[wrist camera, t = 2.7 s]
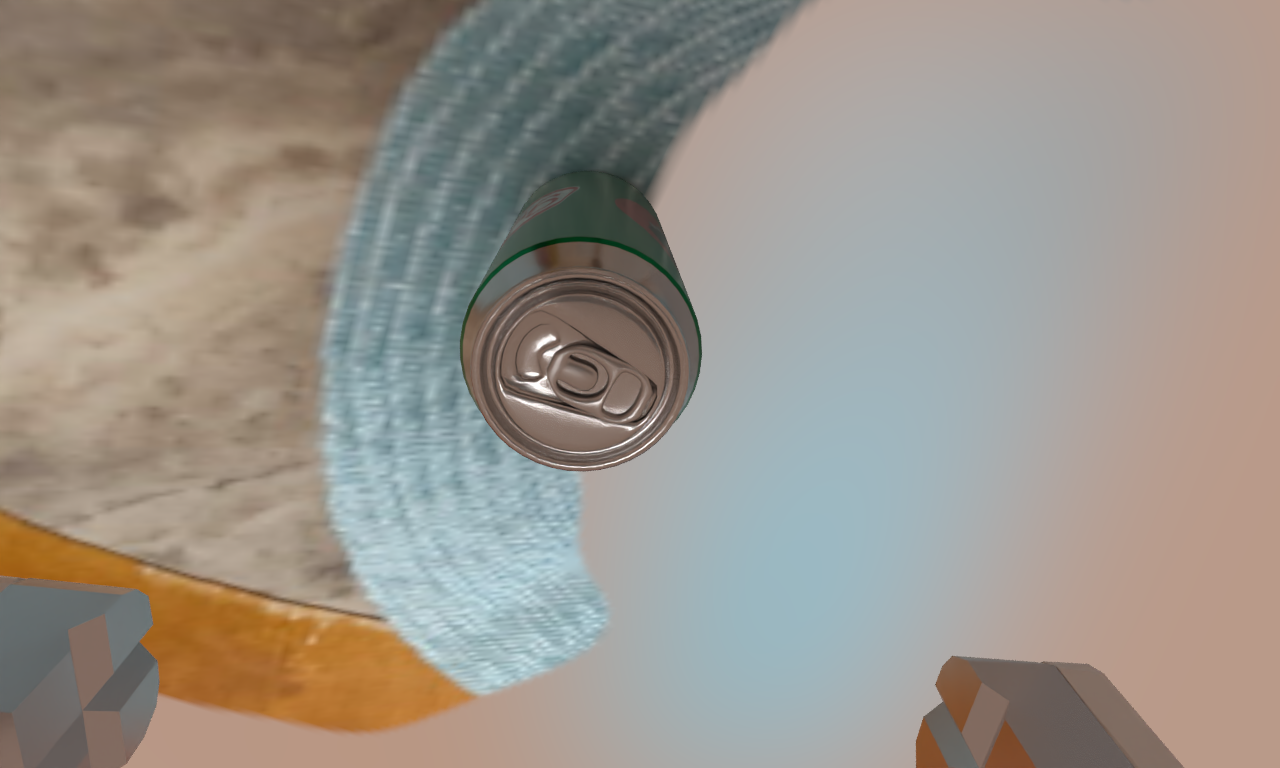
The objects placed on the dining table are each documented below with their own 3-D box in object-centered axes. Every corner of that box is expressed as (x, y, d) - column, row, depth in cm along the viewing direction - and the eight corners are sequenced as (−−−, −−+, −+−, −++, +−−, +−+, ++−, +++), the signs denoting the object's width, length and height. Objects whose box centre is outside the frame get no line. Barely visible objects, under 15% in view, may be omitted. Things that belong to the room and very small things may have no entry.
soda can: (552, 140, 25) (512, 200, 13) (688, 210, 26) (756, 320, 15) (491, 277, 26) (411, 431, 15) (622, 338, 27) (637, 522, 16)
